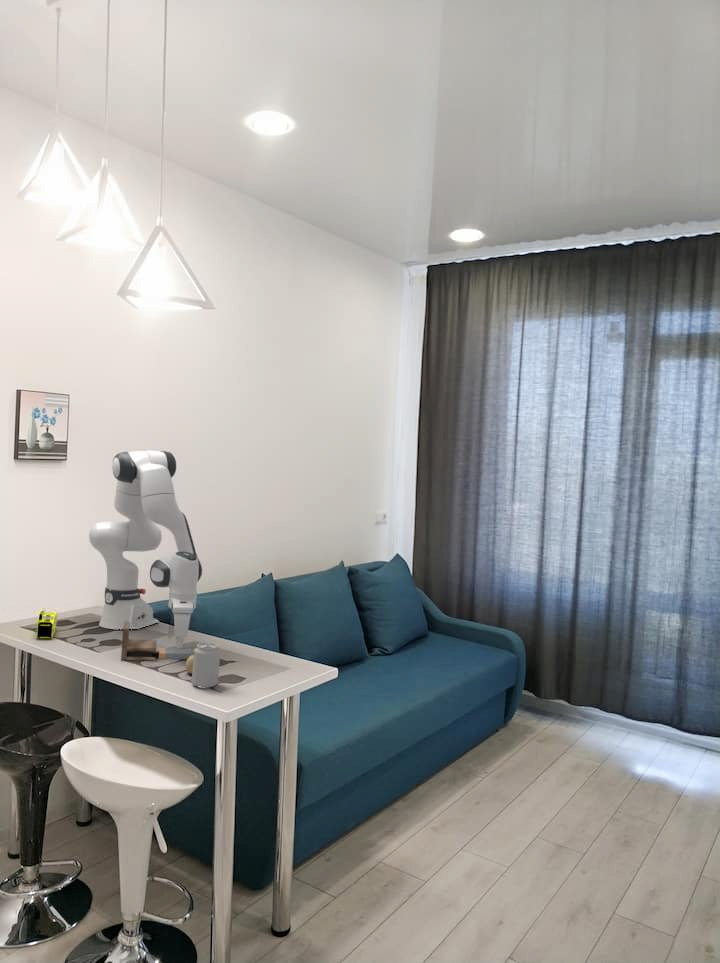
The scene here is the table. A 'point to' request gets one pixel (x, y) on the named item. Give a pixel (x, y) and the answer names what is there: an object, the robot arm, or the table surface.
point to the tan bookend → (136, 645)
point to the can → (206, 665)
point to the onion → (190, 663)
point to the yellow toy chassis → (46, 624)
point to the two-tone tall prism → (175, 653)
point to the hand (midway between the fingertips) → (178, 643)
